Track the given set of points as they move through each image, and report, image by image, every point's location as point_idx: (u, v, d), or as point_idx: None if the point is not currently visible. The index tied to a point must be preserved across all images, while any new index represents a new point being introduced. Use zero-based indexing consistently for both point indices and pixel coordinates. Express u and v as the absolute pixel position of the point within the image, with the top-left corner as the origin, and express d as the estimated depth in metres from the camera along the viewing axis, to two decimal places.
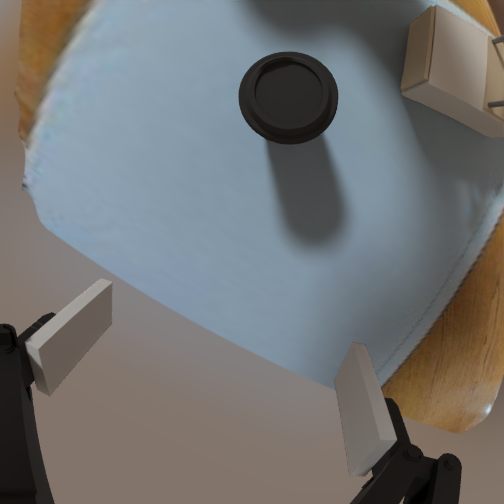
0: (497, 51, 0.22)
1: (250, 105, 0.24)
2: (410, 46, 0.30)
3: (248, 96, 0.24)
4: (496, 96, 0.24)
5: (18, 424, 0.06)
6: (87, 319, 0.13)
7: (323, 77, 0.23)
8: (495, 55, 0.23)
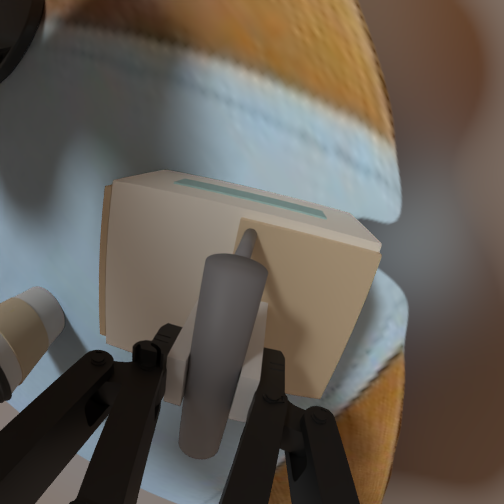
0: (259, 257, 0.17)
1: None
2: None
3: None
4: None
5: (132, 444, 0.07)
6: None
7: None
8: None
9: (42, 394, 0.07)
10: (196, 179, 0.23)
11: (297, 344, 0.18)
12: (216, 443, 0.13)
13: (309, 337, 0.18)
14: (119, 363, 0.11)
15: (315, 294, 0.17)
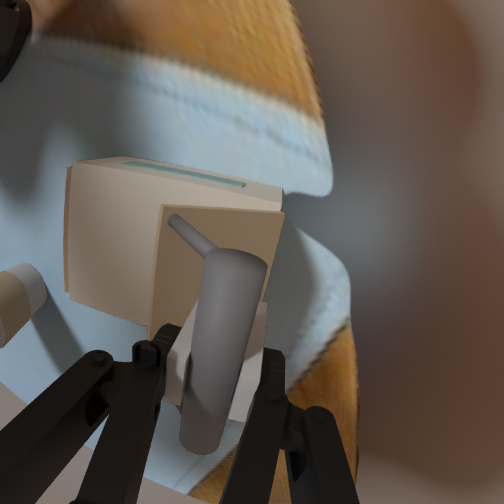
0: (183, 240, 0.16)
1: None
2: None
3: None
4: None
5: (132, 445, 0.07)
6: None
7: None
8: (175, 255, 0.16)
9: (42, 394, 0.07)
10: (145, 162, 0.26)
11: None
12: (223, 429, 0.14)
13: None
14: (119, 363, 0.11)
15: None
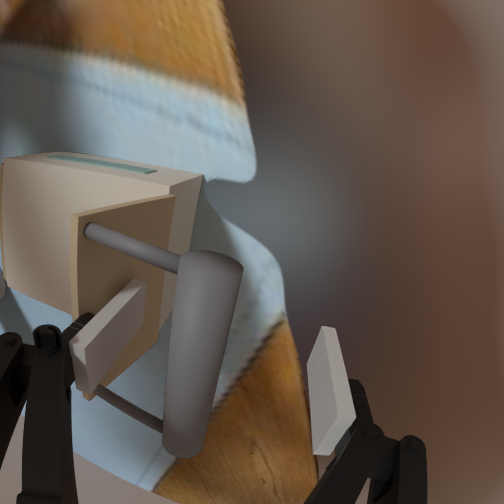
0: (98, 249, 0.13)
1: None
2: None
3: None
4: None
5: (53, 426, 0.07)
6: (125, 318, 0.14)
7: None
8: (93, 268, 0.13)
9: None
10: (75, 155, 0.25)
11: None
12: None
13: None
14: (30, 346, 0.10)
15: None
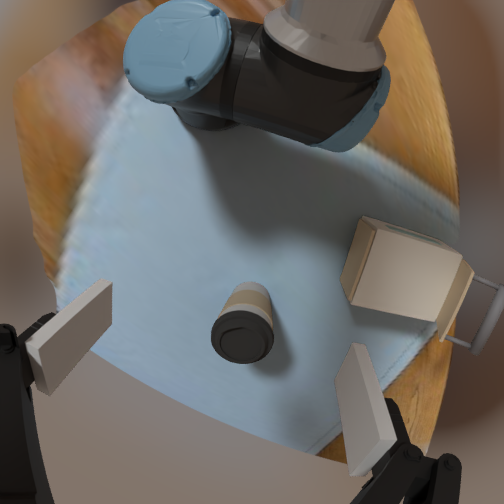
0: None
1: (218, 350, 0.43)
2: (353, 246, 0.48)
3: (216, 345, 0.42)
4: None
5: (18, 424, 0.06)
6: (87, 319, 0.13)
7: (262, 337, 0.41)
8: None
9: None
10: (385, 223, 0.47)
11: None
12: None
13: None
14: None
15: None
